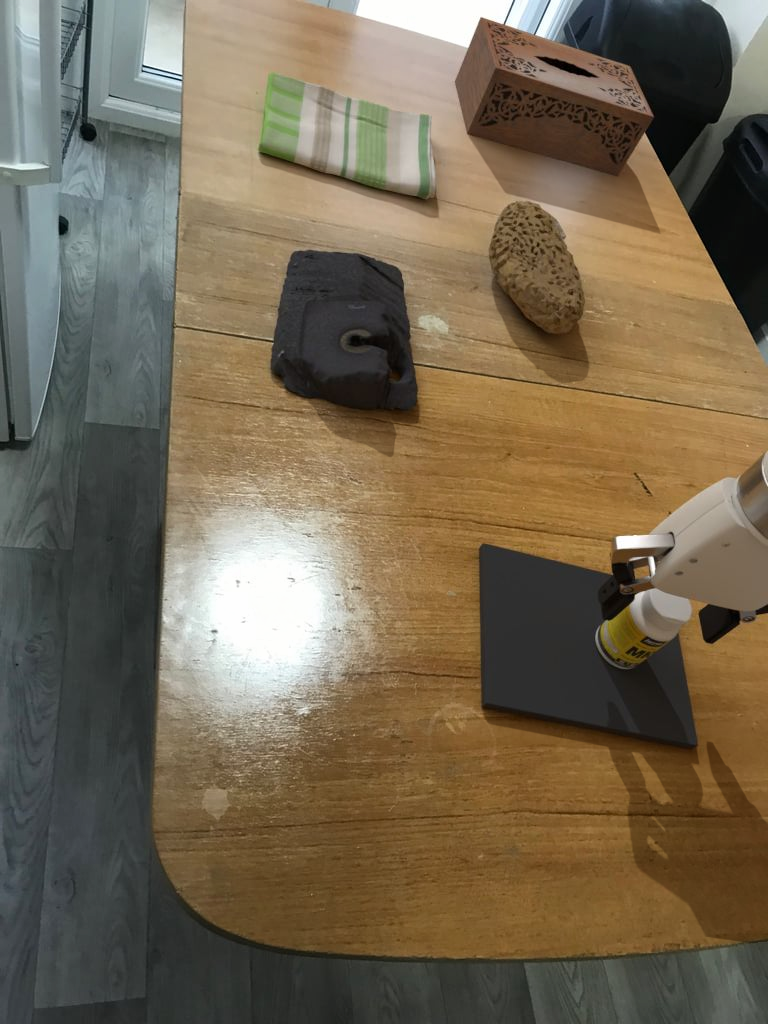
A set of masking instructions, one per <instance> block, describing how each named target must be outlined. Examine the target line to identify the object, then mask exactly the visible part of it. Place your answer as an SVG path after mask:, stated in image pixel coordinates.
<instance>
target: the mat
mask: <svg viewBox="0 0 768 1024" xmlns="http://www.w3.org/2000/svg"><path fill="white" fill-rule="evenodd" d="M478 570H479V571H478V574H479V577H478V579H479V580H478V581H479V583H478V584H479V626H480V627H479V633H480V634H479V637H480V638H479V640H480V644H479V645H480V690H481V691H480V693H481V694H480V695H481V698H480V699H481V704H480V705H481V709H487V710H491V711H496V712H502V713H507V714H512V715H516V716H521V717H527V718H531V719H537V720H542V721H546V722H552V723H556V724H561V725H566V726H571V727H576V728H581V729H586V730H593V731H597V732H602V733H608V734H612V735H617V736H623V737H627V738H633V739H636V740H641V741H648V742H653V743H657V744H663V745H668V746H672V747H677V748H683V749H688V750H693V749H695V748H697V747H699V741H698V735H697V731H696V725H695V718H694V714H693V708H692V703H691V696H690V691H689V686H688V680H687V674H686V669H685V663H684V658H683V652H682V645H681V641H680V636H679V632H678V633H677V635H676V636H675V637H674V638H673V639H672V640H670V641H669V642H668V643H666V644H665V645H664V646H662V647H661V648H660V649H658V650H657V651H656V652H654V653H653V654H652V655H651V656H649V657H648V658H647V659H645V660H644V661H643V662H641V663H640V664H638V665H637V666H636V667H634V668H631V669H620V668H617V667H615V666H613V665H611V664H610V663H609V662H607V661H606V660H605V659H604V658H603V656H602V655H601V653H600V652H599V650H598V648H597V645H596V640H595V636H596V631H597V629H598V628H599V626H600V625H601V624H602V623H604V622H605V621H606V620H604V619H603V618H602V610H601V604H600V603H599V601H598V591H599V589H600V587H601V586H602V585H603V584H604V583H605V582H606V581H607V580H608V579H609V578H610V577H611V576H612V575H613V573H607V572H603V571H600V570H595V569H591V568H587V567H582V566H578V565H576V564H575V565H574V564H571V563H567V562H563V561H559V560H554V559H550V558H546V557H542V556H538V555H534V554H530V553H527V552H522V551H516V550H513V549H509V548H505V547H502V546H498V545H493V544H489V543H486V542H483V543H481V545H480V546H479V548H478ZM646 591H647V590H646ZM642 592H643V591H642ZM638 593H640V592H638ZM638 593H634V594H635V595H636V594H638Z"/></svg>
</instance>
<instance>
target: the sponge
mask: <svg viewBox="0 0 768 1024" xmlns="http://www.w3.org/2000/svg"><path fill="white" fill-rule="evenodd" d="M566 237H567V235H566V233H565V231H564V229H563V228H562V226H561V224H560V223H559V221H558V220H557V218H556V217H554V215H552V214H551V213H549V212H548V211H547V210H544V209H543V208H542V207H541V205H540V203H535V202H532V201H529V200H524V201H523V200H519V201H518V200H516V201H515V202H510V203H508V204H507V206H505V207H504V208H503V210H502V211H501V213H500V214H499V216H498V217H497V220H496V222H495V224H494V228H493V233H492V237H491V240H490V243H489V246H488V256H489V257H488V258H489V264H490V267H491V270H492V273H493V276H494V277H495V278H496V279H497V280H496V281H497V283H498V284H499V286H500V287H501V289H502V290H503V292H504V293H505V294H506V295H508V297H510V298H511V299H512V301H513V302H514V303H515V305H516V306H517V307H518V309H519V310H520V311H521V313H522V314H523V316H524V317H525V318H526V319H528V320H529V321H531V322H532V323H534V324H535V325H536V326H537V327H538V328H541V329H542V331H545V332H546V333H548V334H557V335H558V334H566V333H569V332H571V331H572V328H573V326H574V325H575V324H576V323H578V322H579V321H580V320H581V319H582V317H583V315H584V309H585V308H584V307H585V303H586V298H585V294H584V293H585V292H584V289H583V285H582V280H581V275H580V272H579V269H578V267H577V266H576V264H575V261H574V255H573V254H572V253H571V252H570V251H569V250H568V246H567V243H566V241H565V240H566Z"/></svg>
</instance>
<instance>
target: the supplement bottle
mask: <svg viewBox="0 0 768 1024" xmlns="http://www.w3.org/2000/svg"><path fill="white" fill-rule="evenodd" d="M692 615H693V607H692V603H691V600H690V599H686V598H682V597H678V596H674V595H671V594H667V593H664V592H662V591H660V590H658V589H657V588H654V589H650V590H647V591H643V592H640V593H638V594H636V595H635V599H634V601H633V602H632V603H631V604H630V605H628V606H627V607H626V608H625V609H624V610H623V611H622V612H621V613H619V614H618V615H617V616H616V617H615V618H614V619H613V620H610V621H608V620H606V621H605V622H604V623H602V624H601V625H600V626H599V628H598V629H597V631H596V636H595V640H596V645H597V648H598V650H599V652H600V653H601V655H602V656H603V658H604V659H605V660H606V661H607V662H609V663H610V664H611V665H613V666H615V667H617V668H620V669H631V668H634V667H636V666H637V665H638V664H640V663H641V662H643V661H644V660H645V659H647V658H648V657H649V656H651V655H652V654H653V653H654V652H656V651H657V650H658V649H660V648H661V647H662V646H664V645H665V644H666V643H668V642H669V641H670V640H672V639H673V638H674V637H675V636H676V635H677V633H678V634H679V632H680V630H681V628H682V627H684V625H686V624H687V623H688V622H689V621H690V620H691V618H692Z"/></svg>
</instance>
